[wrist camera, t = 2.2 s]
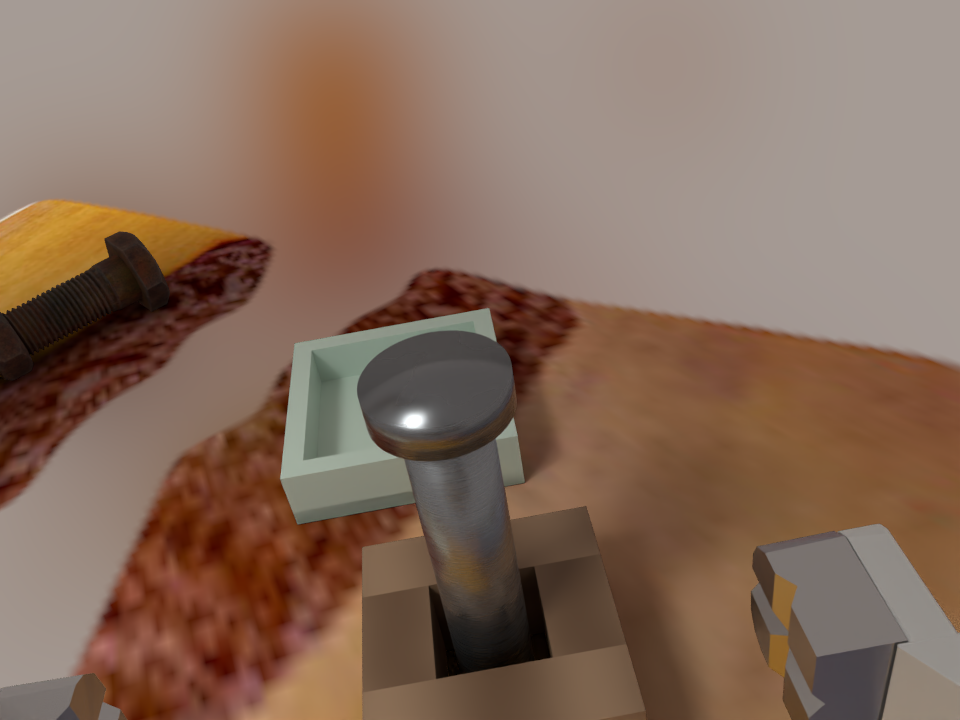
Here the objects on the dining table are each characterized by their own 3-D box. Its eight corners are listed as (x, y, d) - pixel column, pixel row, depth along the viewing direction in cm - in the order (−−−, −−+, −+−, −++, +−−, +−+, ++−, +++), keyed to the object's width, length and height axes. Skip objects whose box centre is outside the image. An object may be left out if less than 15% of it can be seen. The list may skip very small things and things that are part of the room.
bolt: (-43, 421, 57) (164, 307, 64) (-44, 420, 52) (179, 297, 59) (-99, 343, 55) (119, 235, 62) (-104, 336, 51) (130, 220, 58)
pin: (450, 750, 32) (356, 441, 23) (440, 647, 35) (356, 345, 27) (569, 727, 32) (522, 410, 23) (548, 627, 35) (500, 319, 27)
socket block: (388, 825, 30) (362, 763, 28) (382, 610, 37) (361, 547, 35) (649, 777, 30) (645, 710, 28) (593, 572, 37) (586, 506, 35)
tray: (297, 524, 42) (280, 479, 40) (308, 385, 51) (294, 343, 49) (524, 482, 42) (517, 436, 40) (496, 351, 51) (489, 307, 49)
